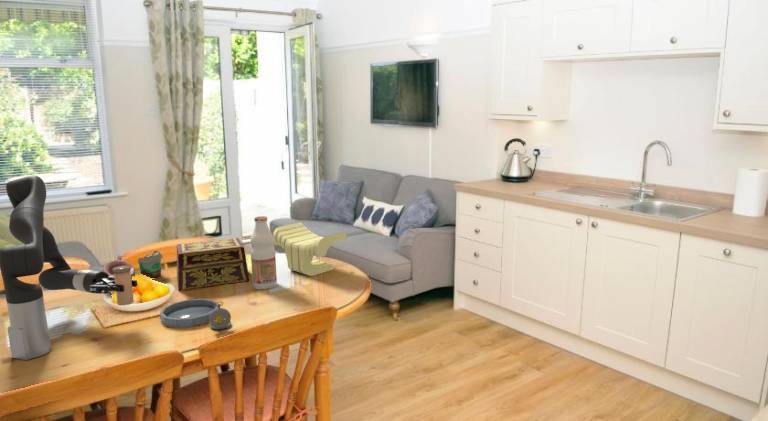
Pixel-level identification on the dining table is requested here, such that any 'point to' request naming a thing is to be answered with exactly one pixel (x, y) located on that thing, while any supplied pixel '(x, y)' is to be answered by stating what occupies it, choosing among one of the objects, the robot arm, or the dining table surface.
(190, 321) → the round tray
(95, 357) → the dining table surface
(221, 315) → the grey rounded piece
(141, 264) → the food container
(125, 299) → the spice jar
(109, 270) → the mortar and pestle
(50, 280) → the robot arm
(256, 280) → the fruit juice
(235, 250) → the decorative box
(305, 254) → the slatted curved stool
